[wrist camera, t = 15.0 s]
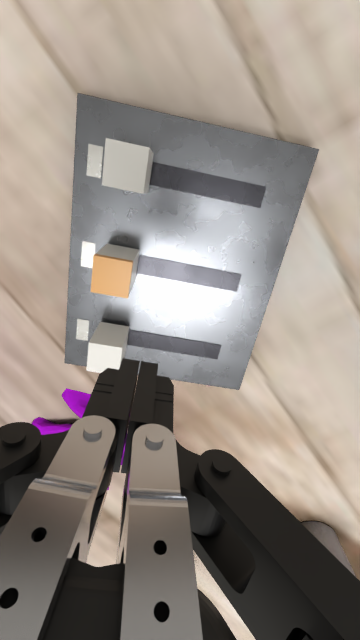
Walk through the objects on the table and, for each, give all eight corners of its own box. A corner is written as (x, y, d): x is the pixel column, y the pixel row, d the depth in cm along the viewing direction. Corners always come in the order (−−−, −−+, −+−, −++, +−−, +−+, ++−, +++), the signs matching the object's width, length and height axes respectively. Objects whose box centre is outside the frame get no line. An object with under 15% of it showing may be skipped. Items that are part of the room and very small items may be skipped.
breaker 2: (129, 326, 31) (122, 348, 27) (125, 351, 33) (118, 375, 29) (100, 321, 31) (88, 342, 27) (97, 346, 32) (86, 370, 28)
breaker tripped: (139, 249, 28) (132, 262, 24) (135, 280, 29) (127, 298, 25) (107, 243, 28) (93, 255, 23) (104, 274, 29) (90, 292, 24)
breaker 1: (153, 153, 25) (149, 147, 21) (148, 192, 26) (143, 193, 22) (117, 145, 25) (105, 137, 21) (113, 185, 26) (101, 185, 22)
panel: (309, 151, 27) (319, 149, 25) (235, 379, 37) (239, 390, 35) (84, 99, 26) (77, 92, 24) (70, 353, 36) (64, 363, 34)
